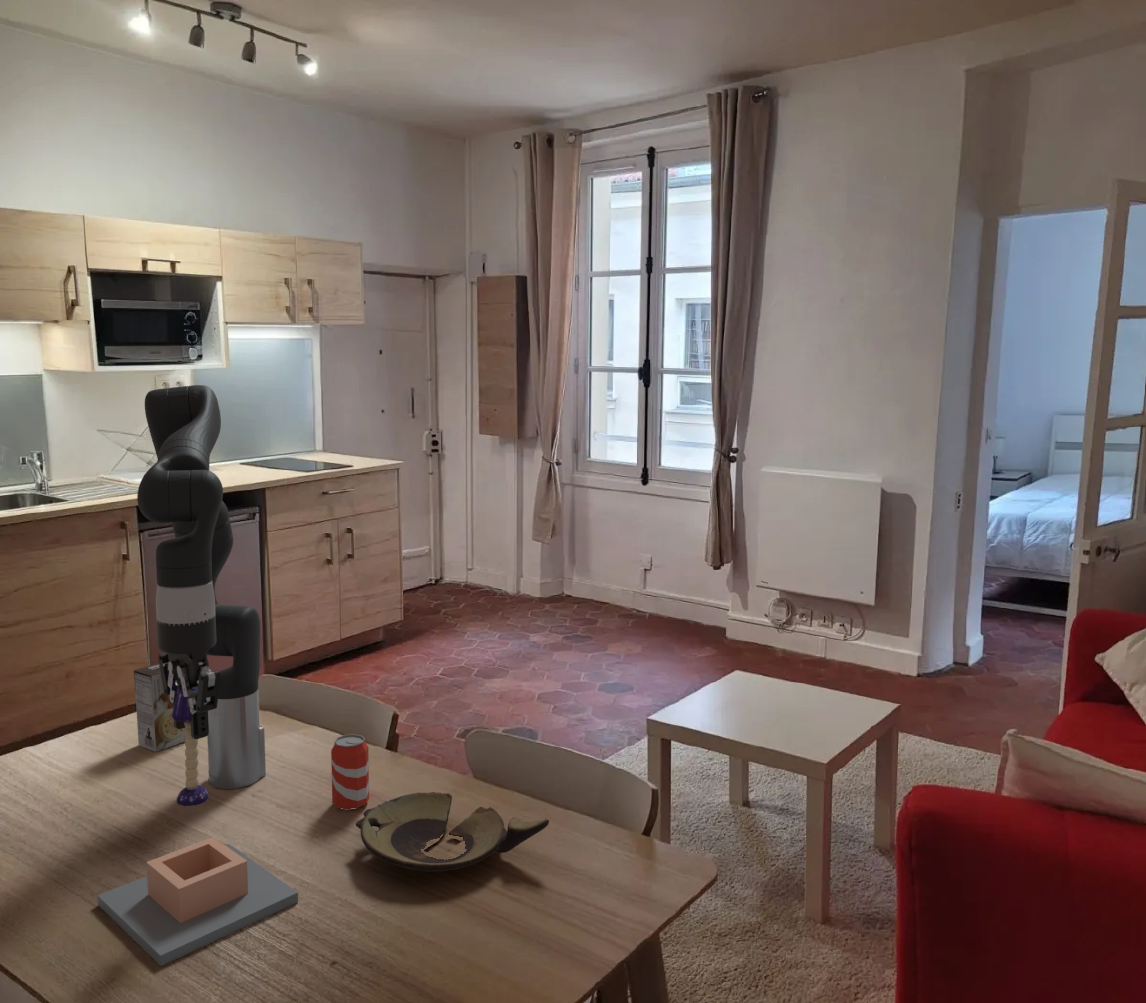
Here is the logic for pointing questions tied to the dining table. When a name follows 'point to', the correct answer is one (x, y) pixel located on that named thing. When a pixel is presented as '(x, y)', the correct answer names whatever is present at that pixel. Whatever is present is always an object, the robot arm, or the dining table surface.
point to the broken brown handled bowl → (437, 831)
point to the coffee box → (154, 711)
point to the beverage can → (350, 772)
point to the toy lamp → (189, 755)
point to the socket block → (195, 899)
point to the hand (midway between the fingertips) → (191, 731)
